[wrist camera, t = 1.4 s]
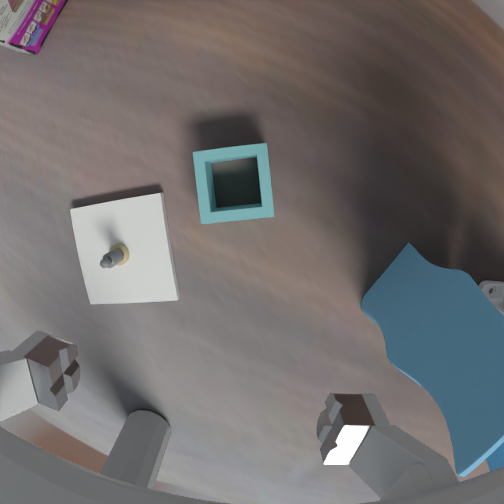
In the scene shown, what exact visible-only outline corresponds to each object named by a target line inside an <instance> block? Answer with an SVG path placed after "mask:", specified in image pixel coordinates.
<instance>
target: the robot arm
mask: <svg viewBox="0 0 504 504" xmlns="http://www.w3.org/2000/svg"><path fill="white" fill-rule="evenodd" d="M478 287H479V288H480V289H481V291H482V292H483V293H484V294H485V296H486V297H487V298H488V299H489V301H490V302H491V303H492V304H493V305H494V306H495V307H496V309H497V310H498V311H499V312H500V313H501V314H502V315H503V316H504V282H500V281H487V280H485V281H482V282H481V283H480V284H479V286H478ZM489 290H490V291H489ZM77 356H78V351H77V346H76V345H75V344H73V343H71V342H68V341H65V340H63V339H60V338H57V337H55V336H52V335H49V334H47V333H44V332H42V331H36V332H35V333H34V334H32V335H31V336H30V337H29V338H28V339H26V340H25V341H24V342H23V343H22V344H20V345H19V346H18V347H17V348H16V349H15V350H13V351H12V352H11V351H9V350H8V351H3V352H0V421H2V420H5V419H7V418H9V417H11V416H14V415H16V414H18V413H20V412H22V411H24V410H27V409H29V408H31V407H33V406H35V405H37V404H38V403H40V404H42V405H45V406H47V407H49V408H52V409H54V410H57V411H60V409H61V408H62V407H63V405H64V404H65V403H66V401H67V400H68V398H67V394H68V393H71V392H73V391H74V390H75V389H76V387H77V386H78V383H79V380H80V366H79V365H78V363H77V362H76V360H75V359H76V357H77ZM325 404H326V409H325V410H323V411H322V412H321V413H320V416H319V418H318V422H317V437H318V439H319V440H320V441H321V442H322V443H323V444H322V446H321V448H320V451H321V455H322V459H323V464H349V466H350V467H351V468H352V470H353V471H354V472H355V473H356V474H357V475H358V476H359V477H360V478H361V479H362V480H363V481H364V482H365V483H366V484H367V485H368V486H369V487H370V488H371V489H372V490H373V491H374V492H375V493H376V494H377V495H378V496H379V497H380V498H381V499H380V501H376V502H369V503H361V504H504V466H502V467H500V468H497V469H495V470H493V471H490V472H487V473H485V474H482V475H480V476H477V477H474V478H471V479H468V480H465V481H462V482H459V480H458V478H457V476H456V475H455V473H454V471H453V469H452V467H451V466H450V464H449V462H448V460H447V459H446V458H445V457H444V456H442V455H441V454H439V453H437V452H436V451H434V450H432V449H431V448H429V447H428V446H426V445H425V444H423V443H421V442H420V441H418V440H417V439H415V438H414V437H412V436H411V435H409V434H407V433H406V432H404V431H403V430H401V429H400V428H398V427H397V426H395V425H390V423H389V421H388V419H387V417H386V415H385V413H384V411H383V409H382V407H381V405H380V403H379V401H378V399H377V397H376V395H374V394H339V393H330V394H329V395H328V397H327V399H326V401H325ZM0 504H228V503H220V502H213V501H205V500H200V499H194V498H189V497H184V496H178V495H174V494H169V493H165V492H161V491H157V490H153V489H149V488H145V487H142V486H138V485H134V484H131V483H128V482H125V481H121V480H118V479H115V478H112V477H109V476H106V475H104V474H101V473H98V472H95V471H93V470H90V469H87V468H85V467H82V466H80V465H77V464H75V463H73V462H70V461H68V460H66V459H63V458H61V457H59V456H57V455H55V454H53V453H50V452H48V451H46V450H44V449H42V448H40V447H38V446H36V445H34V444H32V443H31V442H28V441H27V440H25V439H23V438H21V437H19V436H18V435H16V434H14V433H13V432H11V431H9V430H7V429H6V428H4V427H3V426H1V425H0Z"/></svg>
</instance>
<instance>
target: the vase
mask: <svg viewBox="0 0 504 504" xmlns="http://www.w3.org/2000/svg"><path fill="white" fill-rule="evenodd" d="M361 309H362V311H363V312H364V313H365V314H366V315H367V316H368V317H369V318H370V319H371V320H373V321H374V322H375V323H376V324H378V325H379V327H380V328H381V330H382V332H383V336H384V339H385V344H386V352H387V357H388V359H389V360H390V362H391V364H392V365H394V366H395V367H396V368H398V369H399V370H400V371H402V372H403V373H404V374H406V375H407V376H408V377H410V378H411V379H413V380H414V381H416V382H417V383H418V384H420V385H421V386H422V387H423V388H425V389H426V390H427V391H428V392H429V394H430V395H431V396H432V397H433V398H434V400H435V401H436V402H437V403H438V405H439V407H440V409H441V411H442V413H443V415H444V417H445V420H446V423H447V426H448V429H449V432H450V436H451V441H452V446H453V453H454V460H455V468H456V473H457V475H459V476H462V477H465V476H466V475H467V474H468V473H470V472H471V471H472V470H473V469H474V468H476V467H477V466H478V465H479V464H480V463H482V462H483V461H484V460H485V459H486V460H487V463H488V466H489V469H490V471H493V470H495V469H497V468H500V467H502V466H504V316H503V315H502V314H501V313H500V312H499V311H498V310H497V309H496V307H495V306H494V305H493V304H492V303H491V302H490V301H489V299H488V298H487V297H486V296H485V294H484V293H483V292H482V291H481V289H480V288H479V287H478V285H477V284H476V283H475V281H474V280H473V279H472V278H471V276H470V275H469V274H468V273H466V272H464V271H462V270H454V269H447V268H442V267H438V266H436V265H433V264H431V263H430V262H428V261H427V260H426V259H424V258H423V257H422V256H421V255H420V254H419V253H418V252H417V250H416V249H415V248H414V247H413V246H412V245H411V244H410V243H409V242H408V243H407V245H406V246H405V247H404V248H403V250H402V251H401V252H400V253H399V255H398V256H397V257H396V258H395V259H394V261H393V262H392V263H391V264H390V266H389V267H388V268H387V269H386V270H385V272H384V273H383V274H382V275H381V276H380V278H379V279H378V280H377V281H376V282H375V283H374V285H373V286H372V287H371V288H370V289H369V290H368V292H367V293H366V294H365V296H364V297H363V299H362V301H361Z"/></svg>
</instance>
